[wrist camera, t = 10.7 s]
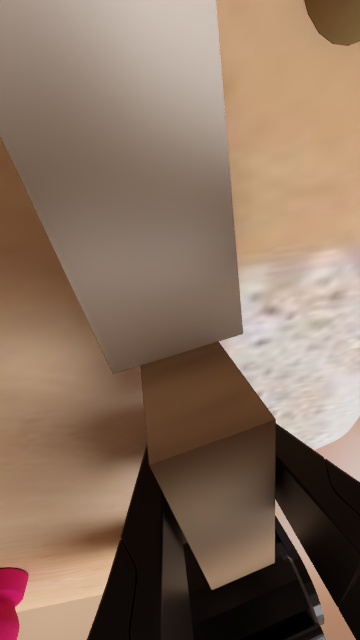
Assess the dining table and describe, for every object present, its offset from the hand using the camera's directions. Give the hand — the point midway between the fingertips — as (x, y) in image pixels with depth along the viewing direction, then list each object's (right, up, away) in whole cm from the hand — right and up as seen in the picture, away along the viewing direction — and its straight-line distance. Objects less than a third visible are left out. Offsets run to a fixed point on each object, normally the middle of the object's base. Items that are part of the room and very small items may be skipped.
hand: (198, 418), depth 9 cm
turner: (-1, +3, -1) cm, 3 cm away
